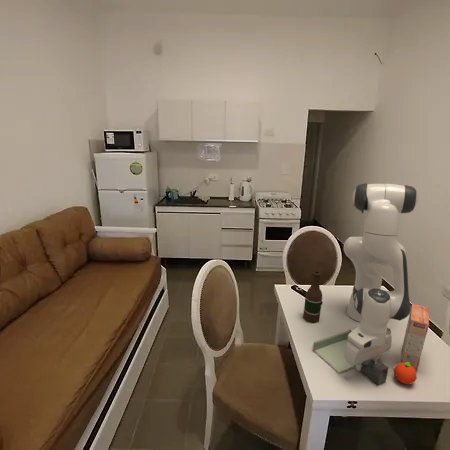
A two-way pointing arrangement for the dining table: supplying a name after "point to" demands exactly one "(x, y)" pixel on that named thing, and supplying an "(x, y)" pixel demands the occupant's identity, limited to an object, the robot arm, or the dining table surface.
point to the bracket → (375, 372)
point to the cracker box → (415, 335)
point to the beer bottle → (313, 300)
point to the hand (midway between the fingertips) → (365, 366)
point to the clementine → (405, 373)
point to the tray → (334, 351)
